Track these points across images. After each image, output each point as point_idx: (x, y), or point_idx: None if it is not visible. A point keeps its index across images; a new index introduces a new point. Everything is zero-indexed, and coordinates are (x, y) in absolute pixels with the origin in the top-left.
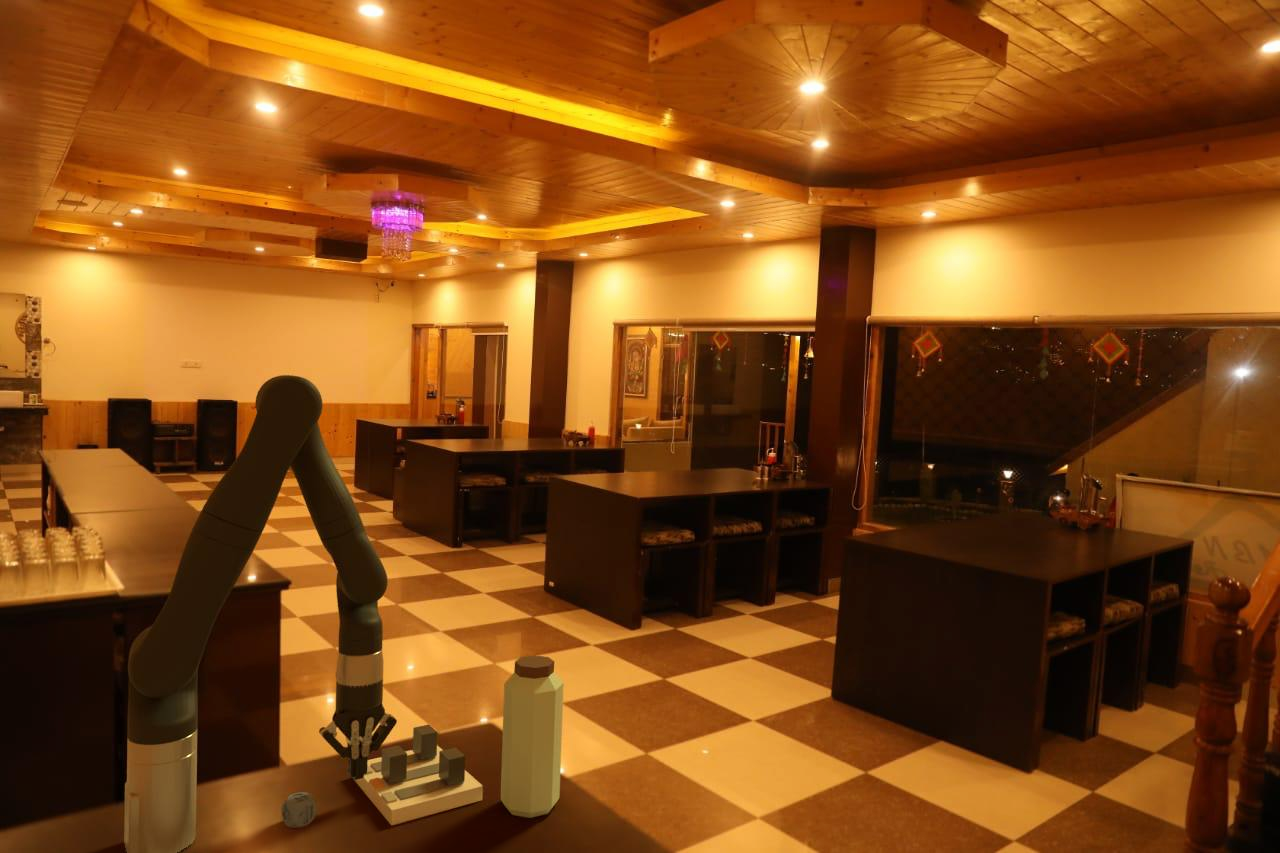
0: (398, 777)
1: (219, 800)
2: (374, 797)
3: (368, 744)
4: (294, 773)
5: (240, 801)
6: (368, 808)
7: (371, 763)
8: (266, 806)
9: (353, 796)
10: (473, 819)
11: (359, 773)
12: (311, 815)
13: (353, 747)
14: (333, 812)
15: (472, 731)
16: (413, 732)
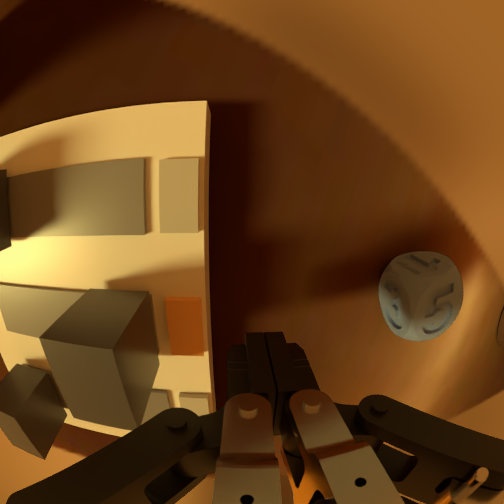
0: (110, 296)
1: (434, 406)
2: (207, 280)
3: (230, 450)
4: None
5: (421, 398)
6: (232, 258)
7: None
8: (409, 372)
9: None
10: (36, 66)
11: (267, 343)
12: (400, 265)
13: (340, 441)
14: (325, 287)
15: None
16: (48, 449)
